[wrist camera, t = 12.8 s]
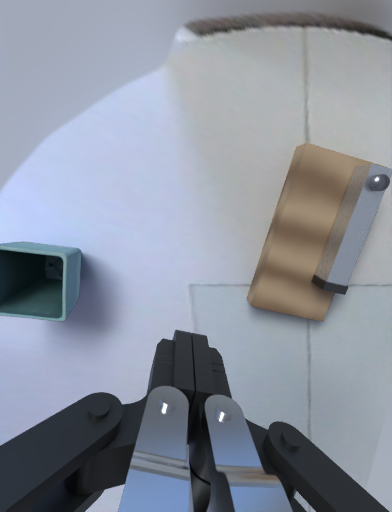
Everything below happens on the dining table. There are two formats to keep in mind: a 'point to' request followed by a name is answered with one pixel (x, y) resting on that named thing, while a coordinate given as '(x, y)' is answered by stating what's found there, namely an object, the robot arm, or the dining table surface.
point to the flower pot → (38, 280)
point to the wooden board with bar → (302, 233)
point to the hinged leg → (351, 227)
